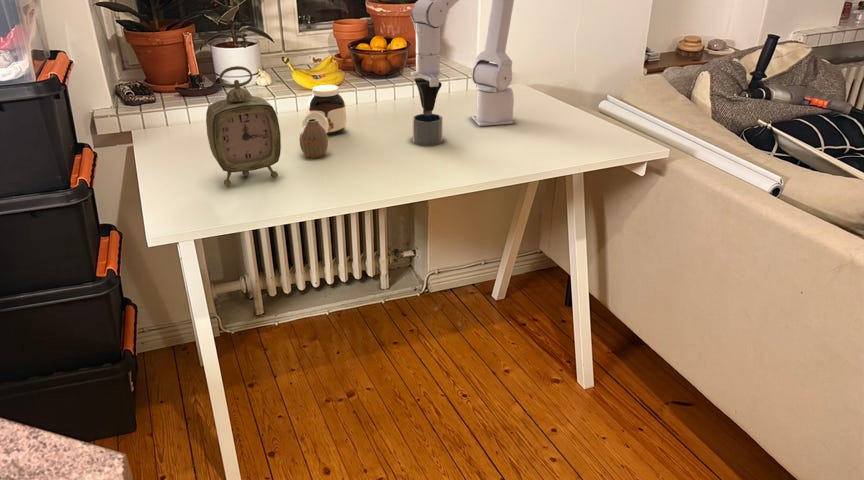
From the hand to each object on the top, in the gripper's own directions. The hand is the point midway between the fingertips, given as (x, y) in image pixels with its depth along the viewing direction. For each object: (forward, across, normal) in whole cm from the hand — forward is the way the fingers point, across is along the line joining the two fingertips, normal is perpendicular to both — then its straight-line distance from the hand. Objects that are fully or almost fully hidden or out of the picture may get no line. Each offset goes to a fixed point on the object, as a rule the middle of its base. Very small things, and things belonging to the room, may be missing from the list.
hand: (427, 108), depth 174 cm
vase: (+8, +4, -29) cm, 30 cm away
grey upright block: (+1, 0, 0) cm, 1 cm away
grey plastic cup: (+8, 0, 0) cm, 8 cm away
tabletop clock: (+8, +16, -45) cm, 49 cm away
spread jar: (+8, -12, -25) cm, 29 cm away
